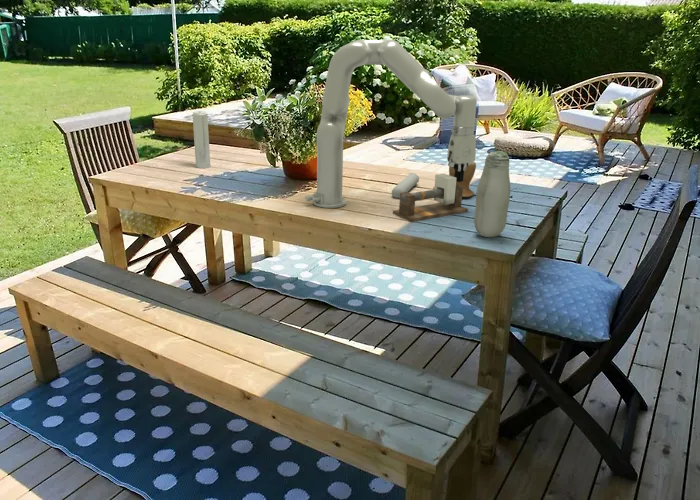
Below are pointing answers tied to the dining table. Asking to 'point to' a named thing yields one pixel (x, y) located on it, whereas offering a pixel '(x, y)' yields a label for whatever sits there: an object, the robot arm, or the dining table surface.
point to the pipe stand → (431, 210)
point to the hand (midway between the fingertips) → (458, 180)
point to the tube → (405, 185)
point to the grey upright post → (201, 139)
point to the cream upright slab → (445, 188)
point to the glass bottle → (493, 195)
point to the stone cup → (465, 179)
